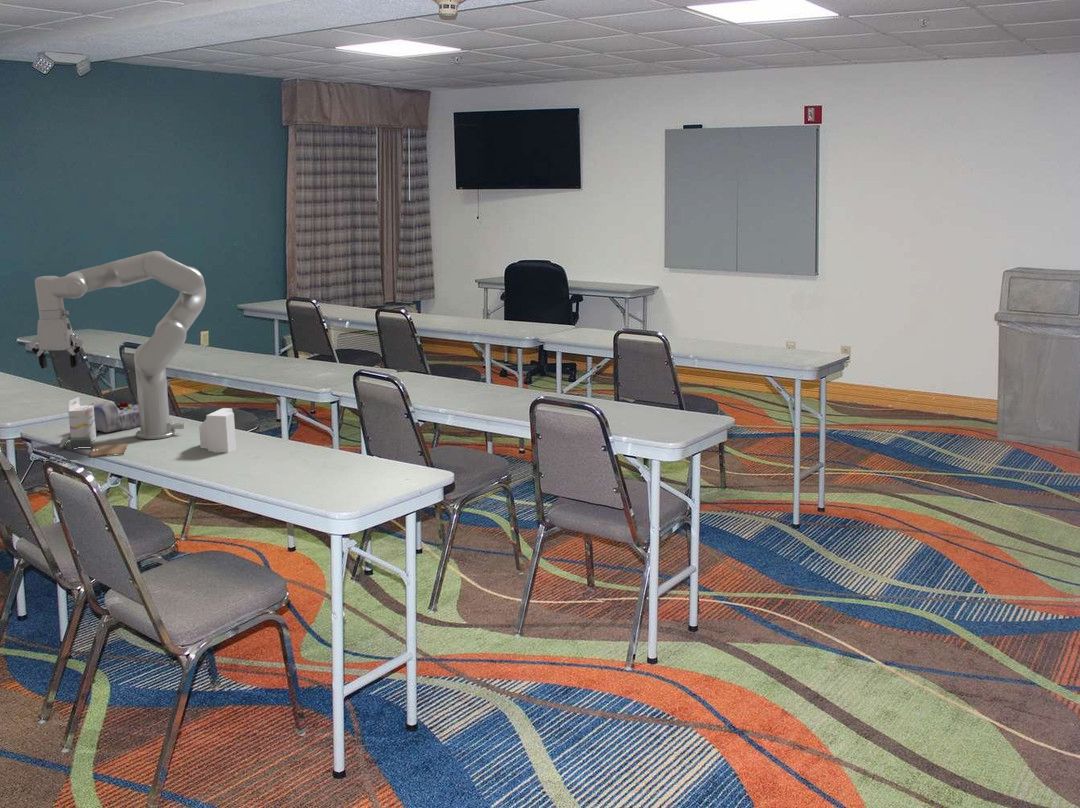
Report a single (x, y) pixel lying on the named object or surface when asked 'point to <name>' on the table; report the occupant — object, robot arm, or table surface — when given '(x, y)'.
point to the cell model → (115, 416)
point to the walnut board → (108, 450)
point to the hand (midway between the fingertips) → (59, 367)
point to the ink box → (81, 420)
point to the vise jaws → (76, 442)
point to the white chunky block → (218, 431)
